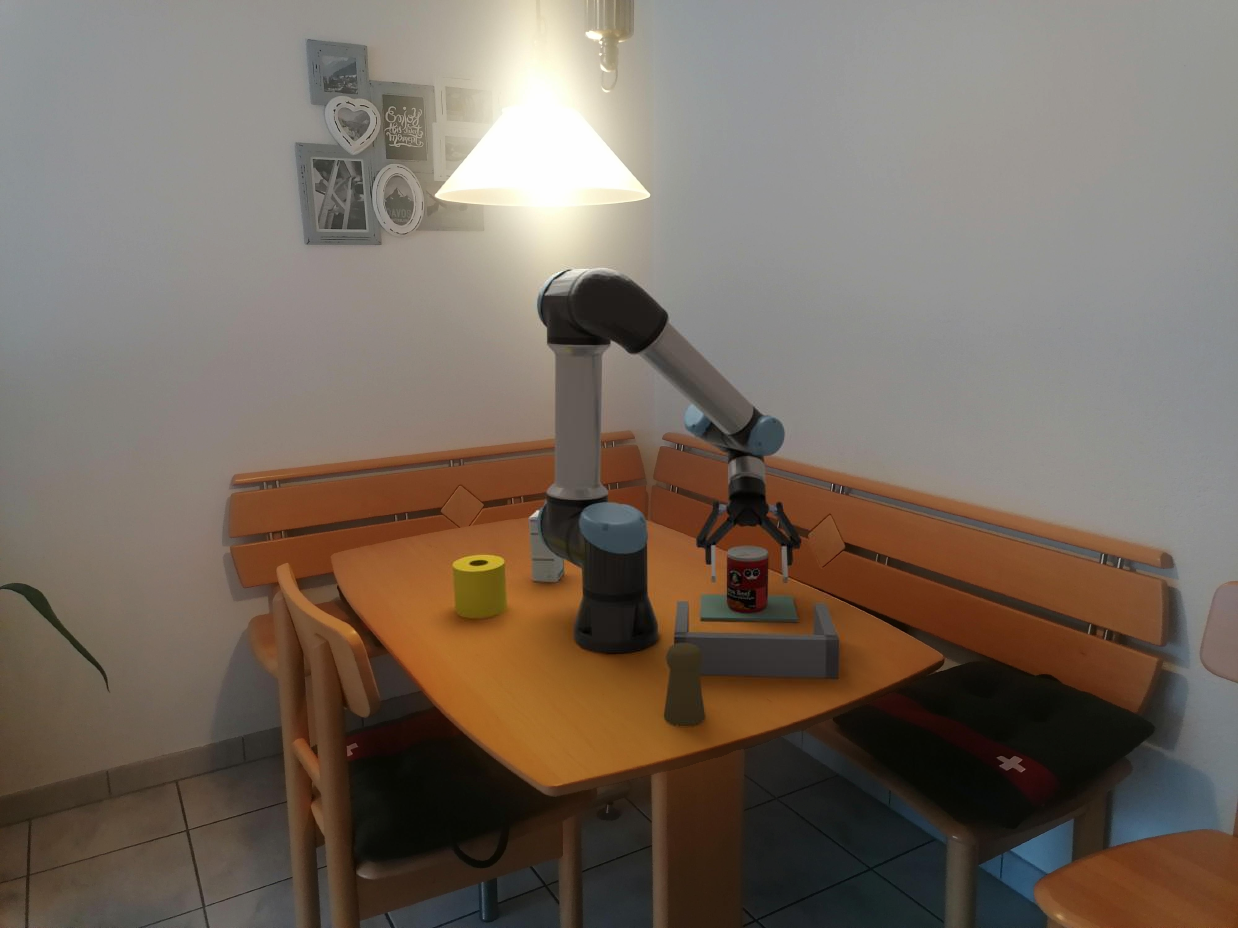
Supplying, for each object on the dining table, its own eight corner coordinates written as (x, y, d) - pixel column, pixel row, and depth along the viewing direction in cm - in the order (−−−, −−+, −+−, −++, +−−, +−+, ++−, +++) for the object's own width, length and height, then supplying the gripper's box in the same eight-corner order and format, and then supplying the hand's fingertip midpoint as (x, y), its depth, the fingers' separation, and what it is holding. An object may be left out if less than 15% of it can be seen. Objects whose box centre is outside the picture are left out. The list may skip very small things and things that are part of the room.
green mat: (700, 620, 159) (700, 617, 159) (700, 596, 171) (700, 594, 171) (797, 622, 158) (797, 619, 157) (791, 598, 169) (791, 595, 169)
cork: (681, 731, 120) (681, 659, 118) (655, 714, 125) (654, 645, 123) (713, 718, 124) (713, 647, 122) (686, 702, 129) (686, 634, 126)
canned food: (718, 606, 164) (718, 552, 162) (743, 595, 170) (744, 542, 167) (750, 617, 159) (751, 561, 156) (775, 605, 164) (776, 550, 162)
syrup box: (557, 582, 181) (555, 517, 178) (531, 581, 182) (528, 516, 179) (564, 573, 186) (562, 509, 183) (538, 572, 188) (536, 509, 184)
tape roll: (498, 595, 174) (496, 552, 172) (513, 612, 165) (510, 566, 163) (450, 604, 170) (447, 559, 168) (462, 621, 161) (459, 574, 159)
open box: (674, 674, 138) (674, 636, 137) (677, 635, 153) (677, 601, 152) (838, 678, 135) (839, 640, 134) (825, 638, 150) (826, 603, 149)
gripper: (807, 493, 175) (814, 588, 164) (685, 493, 178) (684, 586, 167) (810, 474, 169) (818, 571, 158) (684, 474, 172) (683, 570, 160)
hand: (749, 579), depth 162 cm, fingers open, 13 cm apart
